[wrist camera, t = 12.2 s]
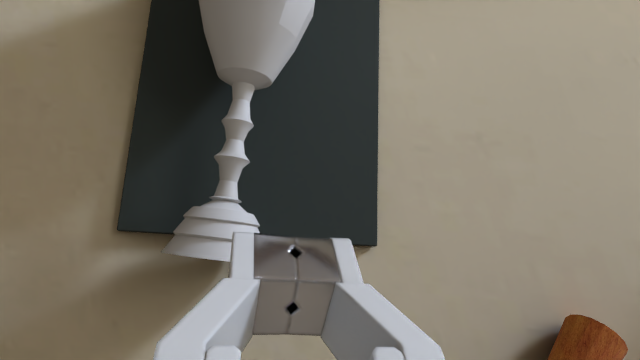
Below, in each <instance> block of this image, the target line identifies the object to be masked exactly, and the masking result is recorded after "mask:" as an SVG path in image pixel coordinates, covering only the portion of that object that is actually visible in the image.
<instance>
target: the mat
mask: <svg viewBox="0 0 640 360" xmlns="http://www.w3.org/2000/svg"><path fill="white" fill-rule="evenodd" d="M378 74H379V0H315V5H314V12H313V17H312V19H311V21H310V23H309V25H308V27H307V29H306V30H305V32H304V34H303V36H302V38H301V40H300V42H299V44H298V46H297V48H296V50H295V52H294V53H293V55H292V56H291V57H290V59H289V60H288V62H287V63H286V64H285V66H284V67H283V69H282V70H281V72H280V73H279V74H278V76H277V77H276V79H275V80H274V82H273V83H272V84H271V86H269V87H267V88H263V89H259V90H254V92H253V95H252V98H251V101H250V119H251V121H252V123H253V125H254V126H253V128H252V129H251V130H250V131H249V132H248V134H247V136H246V138H245V140H244V151H245V155H246V157H247V158H248V160H249V161H250V163H249V164H247V165H246V166H245V167H244V168H243V169H242V172H241V174H240V177H239V180H238V182H237V188H238V199H239V200H240V201H242V202H241V203H238V204H239V205H240V206H241V207H242V208H243V209H244V210H245V211H246V212H247V213H250V214H253V215H254V216H255V218H256V219H257V221H258V223H259V225H260V226H259V227H258V230H259V232H260V233H263V234H275V235H287V236H299V237H317V238H349V239H350V240H351V242H352V245H360V246H377V173H378ZM232 101H233V97H232V86H231V85H229V84H227V83H225V82H224V81H222V80H221V79H220V78H219V77H218V75H217V72H216V69H215V66H214V63H213V59H212V56H211V53H210V50H209V46H208V43H207V40H206V37H205V34H204V28H203V23H202V17H201V11H200V5H199V0H152V2H151V8H150V15H149V22H148V28H147V35H146V41H145V48H144V55H143V61H142V68H141V74H140V81H139V88H138V94H137V101H136V107H135V114H134V121H133V127H132V134H131V140H130V147H129V154H128V160H127V167H126V173H125V180H124V187H123V193H122V200H121V206H120V213H119V220H118V226H117V230H118V231H129V232H145V233H162V234H174V233H173V231H174V230H175V229H176V228H177V227H178V226H179V224H180V223H181V222H182V221H183V220H184V219H185V218H184V217H183V215H184V214H185V213H186V212H187V211H189V210H190V209H191V208H192V207H193V206H202V205H204V204H206V203H208V202H210V201H212V199H210V198H209V197H211V196H214V194H215V192H216V189H217V186H218V184H219V181H220V177H219V164H218V163H217V161H216V160H215V158H214V156H215V155H216V154H218V153H219V152H220V151H221V150H222V148H223V146H224V144H225V142H226V134H225V127H224V125H223V123H222V119H223V118H224V117H225V116H227V114H228V111H229V109H230V106H231V103H232Z"/></svg>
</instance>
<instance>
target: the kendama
mask: <svg viewBox="0 0 640 360" xmlns="http://www.w3.org/2000/svg"><path fill="white" fill-rule="evenodd" d="M627 351H628V348H627V346H626V344H625V342H624V341H623V339H622V338H621V337H620V336H619V335H618V334H617V333H616V332H614V331H613V330H612V329H610V328H609V327H607V326H606V325H604V324H602V323H600V322H598V321H596V320H594V319H592V318H589V317H586V316H582V315H569V316H567V317H566V318H565V320H564V322H563V325H562V327H561V329H560V332H559V334H558V336H557V339H556V341H555V343H554V345H553V348H552V350H551V352H550V355H549V357H548V359H547V360H622V359H623V358H624V357H625V355H626V354H627Z"/></svg>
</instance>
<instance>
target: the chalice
mask: <svg viewBox="0 0 640 360" xmlns="http://www.w3.org/2000/svg"><path fill="white" fill-rule="evenodd" d="M199 5H200V11H201V17H202V23H203V28H204V34H205V37H206V40H207V43H208V46H209V50H210V53H211V56H212V59H213V63H214V66H215V69H216V72H217V75H218V77H219V78H220V79H221V80H222V81H224V82H225V83H227V84H229V85H231V86H232V97H233V101H232V103H231V106H230V109H229V111H228V114H227V116H225V117H224V118H223V119H222V123H223V125H224V127H225V134H226V142H225V144H224V146H223V148H222V150H221V151H220V152H219V153H218V154H216V155H215V156H214V158H215V160H216V161H217V163H218V164H219V177H220V181H219V184H218V186H217V189H216V192H215V194H214V196H211V197H209V198H210V199H212V201H210V202H208V203H206V204H204V205H202V206H193V207H192V208H191V209H190V210H189V211H187V212H186V213H185V214H184V215H183V217H184V218H185V219H184V220H183V221H182V222H181V223H180V224H179V226H178V227H177V228H176V229H175V230H174V231H173V233H174V234H175V236H174V237H173V238H172V239H171V240H170V242H169V243H168V244H167V245H166V246H165V247H164V249H163V250H162V251H161V252H163V253H168V254H174V255H180V256H187V257H195V258H202V259H211V260H220V261H229V262H230V255H231V245H232V235H233V231H235V232H248V233H253V234H254V233H260V232H259V230H258V227H259V226H260V225H259V223H258V221H257V219H256V218H255V216H254V215H253V214H250V213H247V212H246V211H245V210H244V209H243V208H242V207H241V206H240V205H239V204H238V203H241V202H242V201H240V200H239V199H238V188H237V182H238V180H239V177H240V174H241V172H242V169H243V168H244V167H245V166H246V165H247V164H249V163H250V161H249V160H248V158H247V157H246V155H245V151H244V140H245V138H246V136H247V134H248V132H249V131H250V130H251V129H252V128H253V126H254V125H253V123H252V121H251V119H250V101H251V98H252V95H253V92H254V90H259V89H263V88H267V87H269V86H271V84H272V83H273V82H274V80H275V79H276V77H277V76H278V74H279V73H280V72H281V70H282V69H283V67H284V66H285V64H286V63H287V62H288V60H289V59H290V57H291V56H292V55H293V53H294V52H295V50H296V48H297V46H298V44H299V42H300V40H301V38H302V36H303V34H304V32H305V30H306V29H307V27H308V25H309V23H310V21H311V19H312V17H313V12H314V5H315V0H199Z"/></svg>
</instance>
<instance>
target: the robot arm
mask: <svg viewBox="0 0 640 360" xmlns="http://www.w3.org/2000/svg"><path fill="white" fill-rule="evenodd" d="M275 334H290V335H314V336H321V338H322V340H323V341H324V343H325V344H326V345H327V347H328V348H329V349H330V351H331V352H332V353H333V355H334V356H335V357H336V359H337V360H445V358H444V355H443V353H442V350H441V348H440V346H439V345H438V344H437V343H435V342H434V341H433V340H432V339H431V338H430V337H429V336H428V335H426V334H425V333H424V332H423V331H422V330H421V329H420V328H419V327H417V326H416V325H415V324H414V323H413V322H412V321H411V320H409V319H408V318H407V317H406V316H405V315H404V314H403V313H402V312H400V311H399V310H398V309H397V308H396V307H395V306H394V305H392V304H391V303H390V302H389V301H388V300H387V299H386V298H385V297H383V296H382V295H381V294H380V293H379V292H378V291H377V290H376V289H374V288H373V287H372V286H371V285H370V284H364V283H363V280H362V276H361V273H360V269H359V266H358V262H357V259H356V256H355V252H354V249H353V245H352V242H351V240H350V239H349V238H317V237H299V236H287V235H275V234H263V233H254V234H253V233H248V232H235V231H233V235H232V245H231V255H230V266H229V276H228V278H223V279H222V280H220V281H219V282H218V283H217V284H216V285H215V286H214V287H213V288H212V289H211V290H210V291H209V292H208V293H207V294H206V295H205V296H204V297H203V298H202V299H201V300H200V301H199V302H198V303H197V304H196V305H195V306H194V307H193V308H192V309H191V310H190V311H189V312H188V313H187V314H186V315H185V316H184V317H183V318H182V319H181V320H180V321H179V322H178V323H177V324H176V325H175V326H174V327H173V328H172V329H171V330H170V331H169V332H168V333H167V334H166V335H164V336H163V337H162V338H161V339H160V340H159V341H158V342H157V345H156V349H155V354H154V358H153V360H241V353H242V351H243V350H244V348H245V347H246V345H247V344H248V342H249V341H250V339H251V338H252V335H275Z"/></svg>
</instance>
